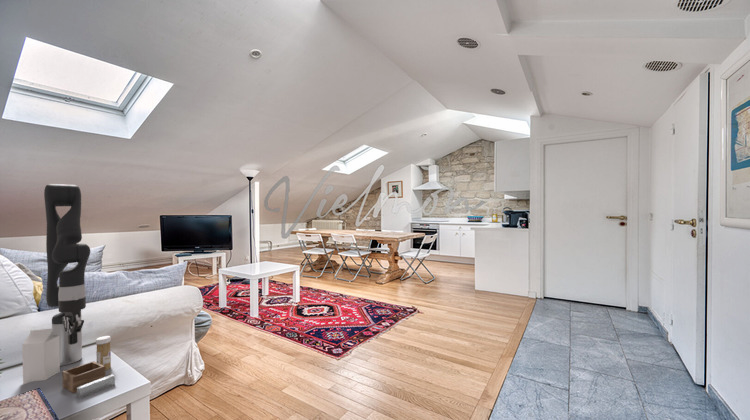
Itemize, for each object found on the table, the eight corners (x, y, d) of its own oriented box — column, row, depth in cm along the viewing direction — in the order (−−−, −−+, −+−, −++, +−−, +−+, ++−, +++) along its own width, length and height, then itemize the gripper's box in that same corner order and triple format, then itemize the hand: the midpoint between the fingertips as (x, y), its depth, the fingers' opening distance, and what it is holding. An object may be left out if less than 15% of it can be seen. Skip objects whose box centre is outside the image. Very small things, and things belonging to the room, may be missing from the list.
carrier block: (62, 386, 117) (62, 371, 117) (93, 375, 125) (93, 361, 125) (73, 393, 113) (73, 377, 113) (105, 381, 120) (105, 366, 120)
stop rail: (76, 397, 110) (76, 387, 110) (112, 383, 119) (112, 374, 119) (79, 399, 109) (79, 389, 109) (114, 385, 118) (114, 375, 118)
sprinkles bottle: (110, 372, 130) (110, 337, 130) (95, 375, 127) (94, 340, 127) (111, 367, 134) (111, 334, 134) (97, 370, 131) (96, 336, 131)
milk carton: (45, 383, 122) (44, 332, 122) (22, 385, 121) (22, 333, 121) (60, 373, 129) (59, 325, 129) (39, 375, 128) (38, 326, 128)
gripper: (51, 297, 123) (52, 344, 123) (66, 301, 117) (67, 350, 116) (77, 293, 130) (78, 337, 129) (92, 296, 123) (93, 343, 123)
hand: (73, 343), depth 123 cm, fingers closed
